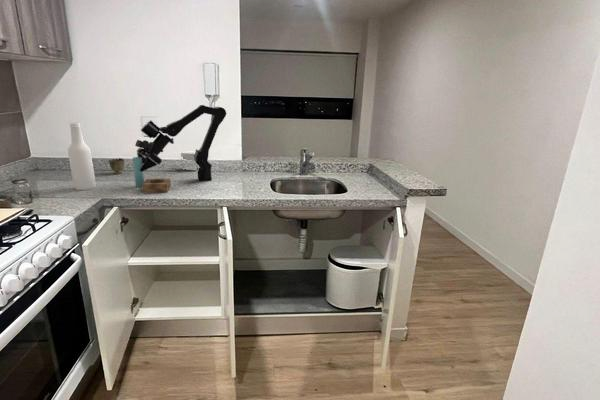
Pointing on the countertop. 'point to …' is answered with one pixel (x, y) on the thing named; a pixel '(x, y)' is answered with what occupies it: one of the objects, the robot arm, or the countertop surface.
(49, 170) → the countertop surface
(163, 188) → the socket
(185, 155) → the small box
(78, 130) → the alcohol
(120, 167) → the cup
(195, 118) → the robot arm
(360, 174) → the countertop surface
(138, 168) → the peg
